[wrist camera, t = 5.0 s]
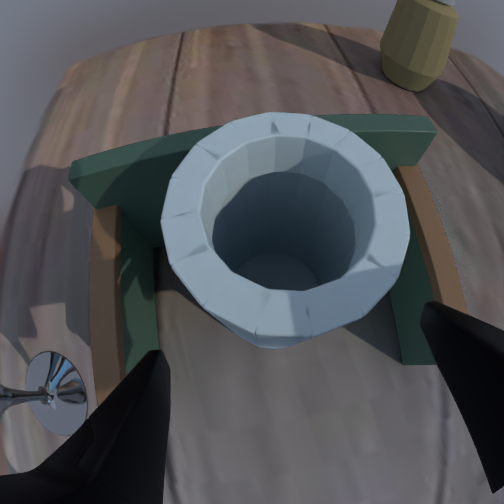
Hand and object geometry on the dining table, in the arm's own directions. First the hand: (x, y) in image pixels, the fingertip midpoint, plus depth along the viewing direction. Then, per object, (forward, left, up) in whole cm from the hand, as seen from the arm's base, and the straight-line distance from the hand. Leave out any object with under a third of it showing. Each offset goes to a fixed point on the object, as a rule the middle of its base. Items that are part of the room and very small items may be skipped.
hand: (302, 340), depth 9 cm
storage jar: (+3, +2, -10) cm, 11 cm away
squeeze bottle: (+33, -2, -10) cm, 35 cm away
